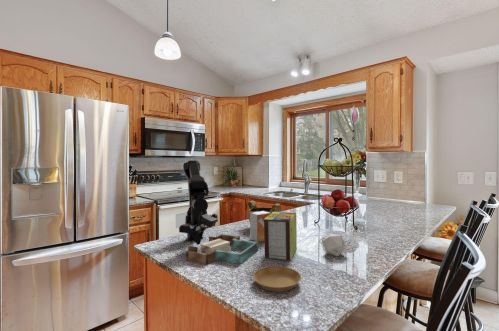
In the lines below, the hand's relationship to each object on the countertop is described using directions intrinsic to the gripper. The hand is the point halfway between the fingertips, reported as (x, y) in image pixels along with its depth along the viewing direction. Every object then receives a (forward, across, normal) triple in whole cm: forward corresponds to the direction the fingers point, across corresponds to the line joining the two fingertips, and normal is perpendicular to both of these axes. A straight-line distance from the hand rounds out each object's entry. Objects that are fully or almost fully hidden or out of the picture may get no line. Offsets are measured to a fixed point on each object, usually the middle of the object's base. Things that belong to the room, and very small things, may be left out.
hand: (198, 244), depth 115 cm
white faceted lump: (+2, +16, -55) cm, 57 cm away
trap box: (+2, 0, -13) cm, 13 cm away
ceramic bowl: (+2, +42, -14) cm, 44 cm away
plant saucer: (+3, -17, -42) cm, 45 cm away
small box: (+2, +23, -20) cm, 30 cm away
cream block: (+2, 0, -9) cm, 9 cm away
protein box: (+2, +9, -35) cm, 36 cm away
